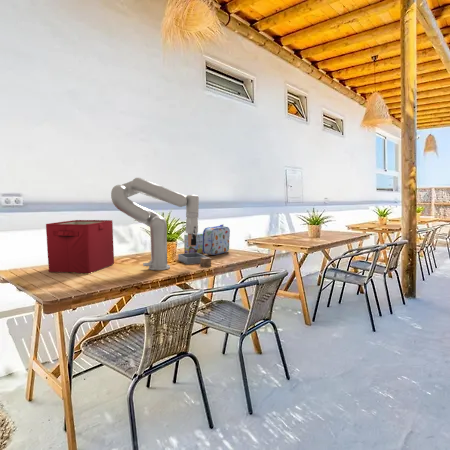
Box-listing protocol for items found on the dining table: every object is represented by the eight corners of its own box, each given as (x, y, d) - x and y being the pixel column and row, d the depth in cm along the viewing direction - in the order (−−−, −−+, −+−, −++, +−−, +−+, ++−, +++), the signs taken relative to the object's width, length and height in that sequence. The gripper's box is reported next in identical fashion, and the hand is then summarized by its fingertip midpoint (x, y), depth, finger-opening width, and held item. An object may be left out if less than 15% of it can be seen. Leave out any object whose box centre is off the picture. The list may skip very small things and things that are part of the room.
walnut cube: (203, 266, 206) (203, 258, 205) (200, 265, 210) (200, 257, 210) (211, 266, 208) (211, 258, 208) (207, 264, 212) (207, 257, 212)
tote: (186, 264, 213) (186, 258, 213) (178, 259, 229) (178, 254, 229) (206, 262, 219) (206, 256, 219) (196, 258, 235) (196, 252, 235)
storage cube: (87, 275, 186) (85, 223, 184) (44, 273, 191) (42, 223, 189) (117, 263, 217) (115, 219, 215) (79, 262, 223) (77, 219, 220)
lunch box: (220, 250, 268) (220, 223, 267) (231, 251, 263) (231, 223, 261) (200, 255, 245) (200, 226, 243) (212, 257, 240) (212, 226, 238)
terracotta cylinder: (189, 246, 202) (189, 235, 202) (186, 245, 207) (186, 234, 206) (197, 246, 204) (197, 234, 204) (194, 245, 209) (194, 234, 208)
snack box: (189, 255, 247) (189, 235, 246) (184, 254, 251) (183, 234, 249) (207, 251, 264) (207, 232, 263) (202, 251, 268) (202, 232, 266)
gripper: (182, 214, 210) (181, 243, 211) (191, 215, 195) (191, 246, 196) (193, 214, 213) (192, 242, 215) (203, 215, 198) (202, 246, 199)
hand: (192, 244), depth 205 cm, fingers closed on terracotta cylinder, 5 cm apart
